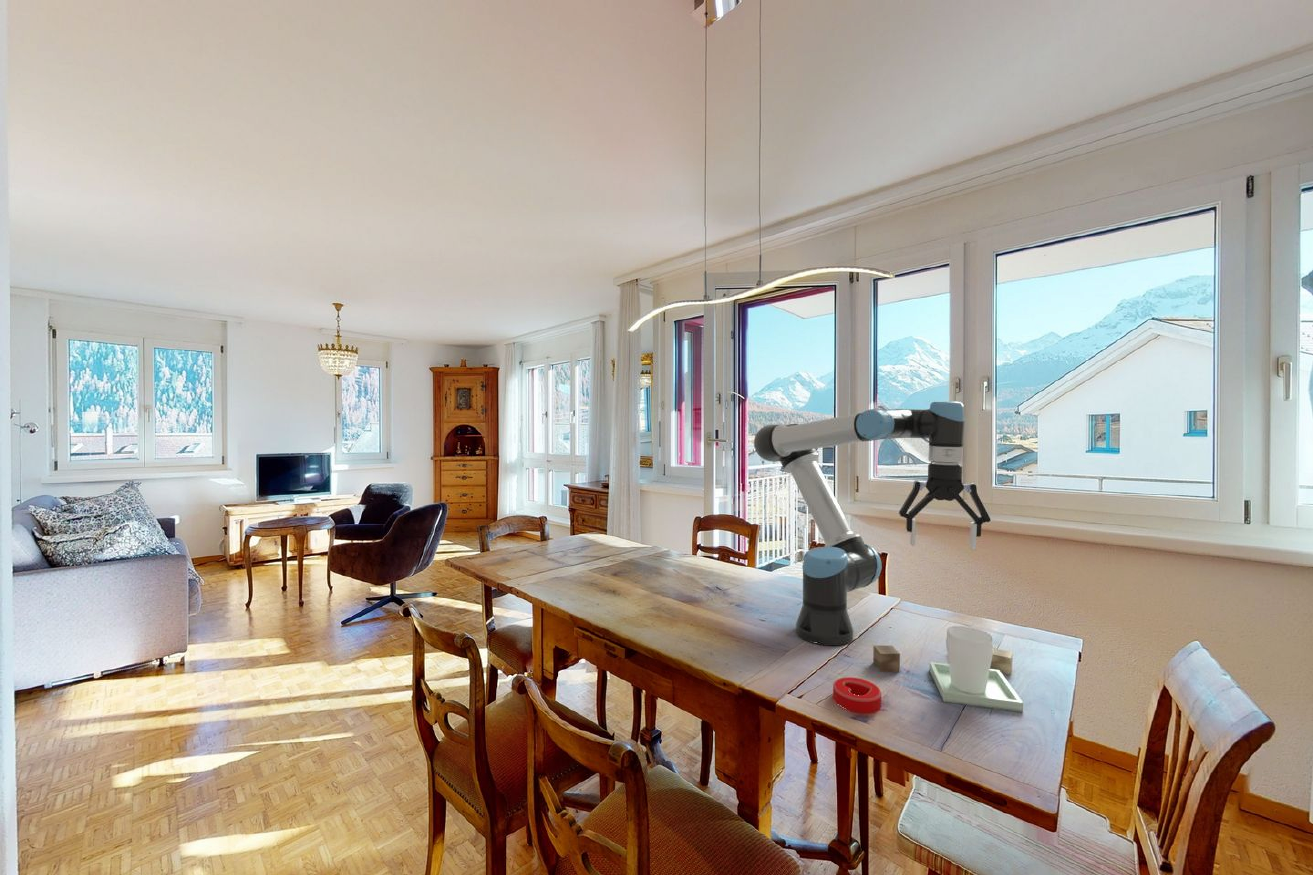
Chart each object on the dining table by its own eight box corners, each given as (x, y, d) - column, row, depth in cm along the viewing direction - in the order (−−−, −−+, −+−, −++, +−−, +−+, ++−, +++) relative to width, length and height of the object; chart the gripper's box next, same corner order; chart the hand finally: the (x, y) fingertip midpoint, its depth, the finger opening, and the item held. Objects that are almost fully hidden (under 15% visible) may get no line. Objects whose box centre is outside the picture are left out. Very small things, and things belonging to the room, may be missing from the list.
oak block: (986, 668, 128) (986, 652, 128) (987, 662, 131) (988, 646, 131) (1010, 675, 125) (1011, 658, 125) (1012, 668, 128) (1012, 652, 128)
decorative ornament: (891, 707, 112) (891, 692, 112) (858, 719, 107) (858, 703, 107) (855, 686, 120) (855, 672, 120) (823, 696, 116) (823, 682, 116)
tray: (943, 701, 113) (943, 692, 113) (929, 670, 127) (929, 661, 127) (1022, 712, 109) (1023, 702, 109) (999, 678, 123) (999, 669, 123)
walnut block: (880, 672, 127) (880, 653, 126) (873, 663, 131) (873, 645, 131) (899, 672, 127) (900, 653, 126) (891, 663, 131) (892, 645, 131)
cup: (999, 699, 113) (1000, 644, 113) (953, 695, 115) (954, 640, 114) (982, 678, 122) (983, 627, 121) (939, 675, 124) (940, 624, 123)
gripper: (892, 462, 134) (890, 546, 135) (1007, 466, 126) (1003, 555, 127) (889, 460, 141) (887, 539, 142) (997, 463, 133) (994, 547, 134)
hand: (942, 546), depth 135 cm, fingers open, 13 cm apart
